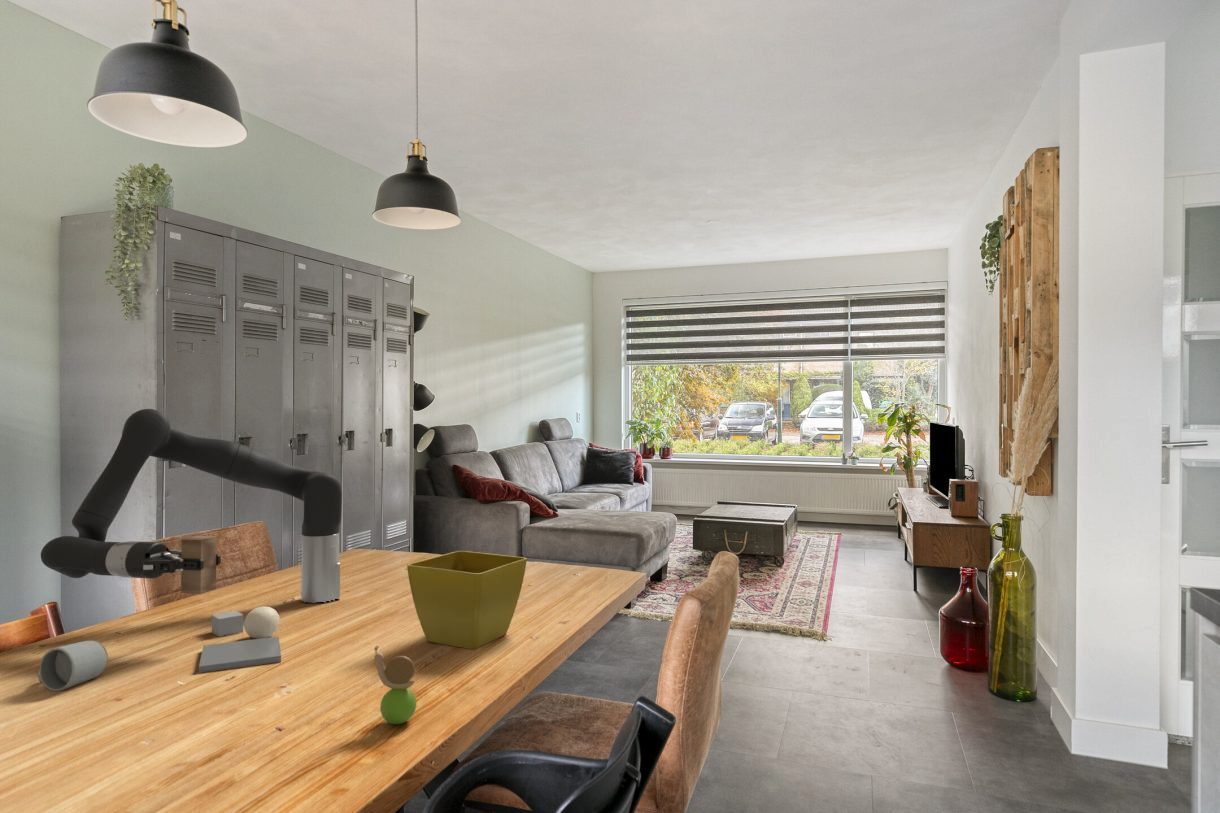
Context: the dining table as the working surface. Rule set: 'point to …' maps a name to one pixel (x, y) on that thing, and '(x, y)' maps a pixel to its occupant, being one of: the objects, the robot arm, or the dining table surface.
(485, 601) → the flower pot
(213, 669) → the plate
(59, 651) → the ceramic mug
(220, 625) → the grey block
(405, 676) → the snail figurine
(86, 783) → the dining table surface
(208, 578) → the walnut block
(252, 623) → the steamed bun
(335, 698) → the dining table surface
